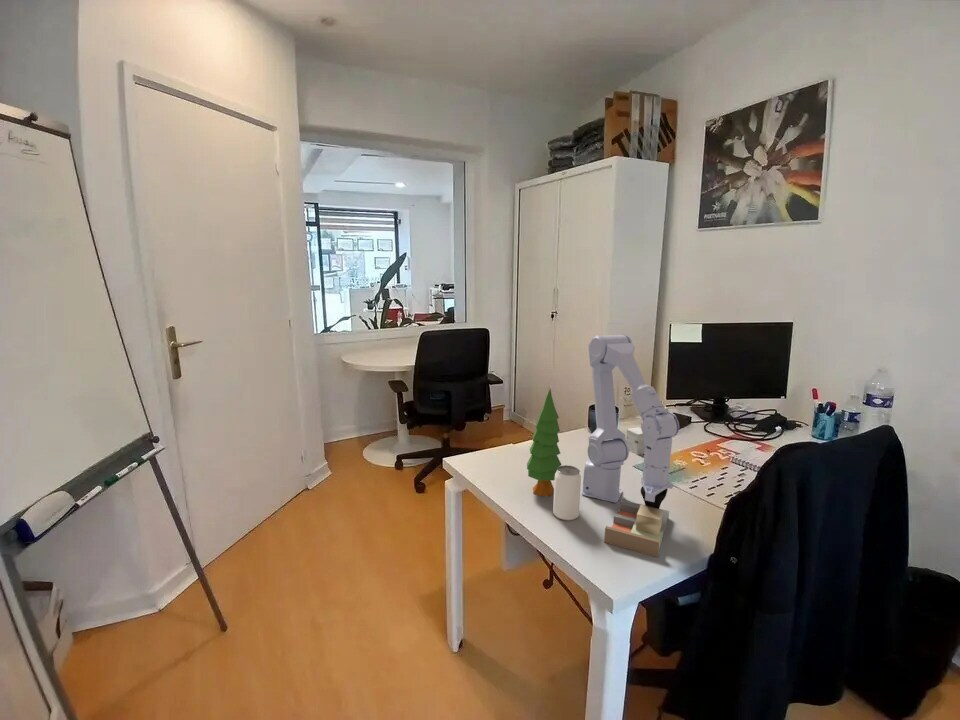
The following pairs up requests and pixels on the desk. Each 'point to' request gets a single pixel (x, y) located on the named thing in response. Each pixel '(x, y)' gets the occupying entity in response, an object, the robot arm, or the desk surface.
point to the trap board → (634, 531)
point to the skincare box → (635, 440)
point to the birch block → (649, 520)
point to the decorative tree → (545, 449)
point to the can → (567, 493)
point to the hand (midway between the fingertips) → (651, 516)
